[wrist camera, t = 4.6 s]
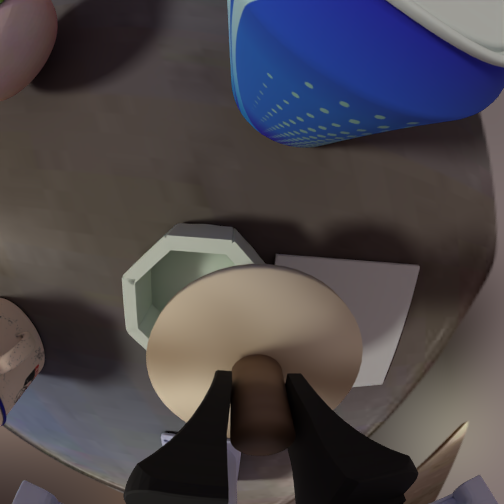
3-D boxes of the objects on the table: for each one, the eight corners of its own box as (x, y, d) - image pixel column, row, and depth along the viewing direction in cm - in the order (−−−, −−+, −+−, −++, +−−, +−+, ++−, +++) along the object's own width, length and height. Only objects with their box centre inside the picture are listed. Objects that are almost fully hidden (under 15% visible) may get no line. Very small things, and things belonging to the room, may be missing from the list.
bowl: (259, 344, 22) (264, 376, 18) (145, 333, 21) (130, 363, 18) (273, 229, 20) (282, 244, 16) (141, 219, 19) (120, 231, 15)
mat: (380, 381, 24) (382, 384, 24) (258, 386, 23) (258, 389, 23) (417, 264, 21) (420, 266, 21) (275, 253, 20) (276, 255, 20)
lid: (331, 426, 16) (351, 486, 11) (160, 422, 15) (145, 486, 10) (378, 270, 13) (435, 317, 8) (143, 255, 12) (97, 304, 8)
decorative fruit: (37, 131, 17) (-59, 125, 7) (-10, 94, 15) (-89, 83, 5) (106, 26, 15) (39, -37, 5) (49, 3, 13) (-15, -41, 4)
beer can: (348, 38, 16) (491, -87, 1) (361, 148, 19) (582, 145, 3) (227, 36, 16) (219, -162, 1) (236, 152, 18) (238, 77, 3)
